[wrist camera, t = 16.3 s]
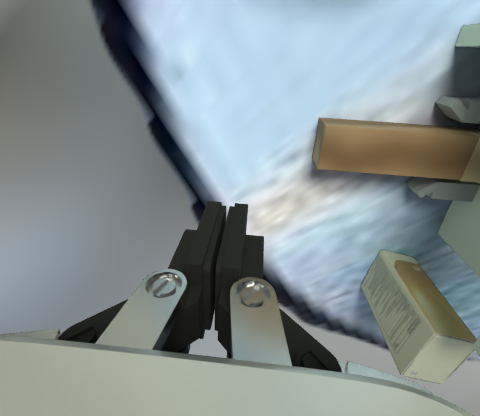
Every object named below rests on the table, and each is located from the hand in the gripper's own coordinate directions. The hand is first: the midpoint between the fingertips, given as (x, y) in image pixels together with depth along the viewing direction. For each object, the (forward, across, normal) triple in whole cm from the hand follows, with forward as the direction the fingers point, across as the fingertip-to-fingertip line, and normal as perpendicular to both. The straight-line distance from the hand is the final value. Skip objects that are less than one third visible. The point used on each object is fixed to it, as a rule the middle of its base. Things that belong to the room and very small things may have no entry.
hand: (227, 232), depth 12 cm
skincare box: (+19, -18, +17) cm, 31 cm away
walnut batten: (+19, -14, +1) cm, 24 cm away
